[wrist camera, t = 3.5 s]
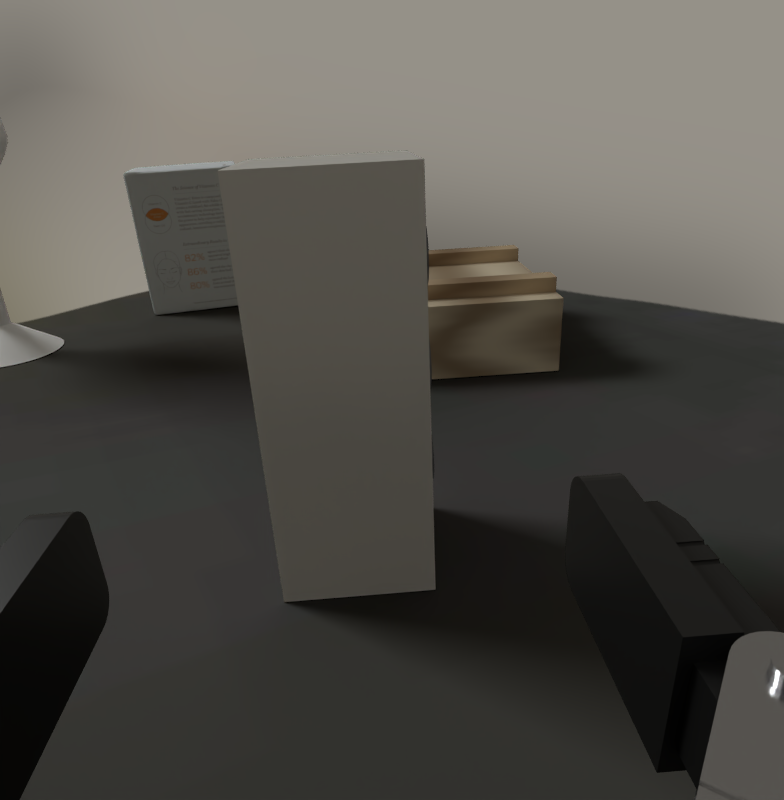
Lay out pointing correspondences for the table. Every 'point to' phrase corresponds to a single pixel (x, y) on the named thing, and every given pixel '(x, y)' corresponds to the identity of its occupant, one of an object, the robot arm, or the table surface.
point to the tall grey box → (339, 364)
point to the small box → (182, 236)
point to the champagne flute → (14, 341)
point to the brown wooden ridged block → (491, 314)
